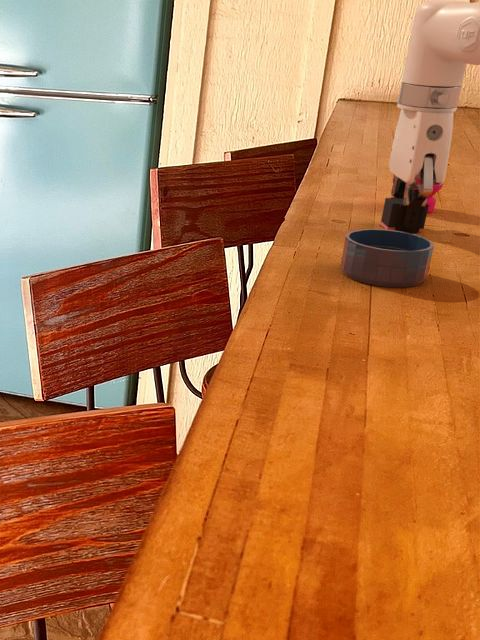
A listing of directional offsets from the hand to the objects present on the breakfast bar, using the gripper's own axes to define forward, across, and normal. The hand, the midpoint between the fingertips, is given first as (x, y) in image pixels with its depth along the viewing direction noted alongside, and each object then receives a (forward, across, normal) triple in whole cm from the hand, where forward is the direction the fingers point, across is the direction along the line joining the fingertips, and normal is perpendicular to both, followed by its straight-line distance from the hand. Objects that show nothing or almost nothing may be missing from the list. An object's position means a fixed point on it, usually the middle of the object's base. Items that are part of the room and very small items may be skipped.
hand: (402, 227), depth 128 cm
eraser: (0, 0, 0) cm, 0 cm away
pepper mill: (0, +13, -6) cm, 14 cm away
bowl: (0, -23, +10) cm, 25 cm away
